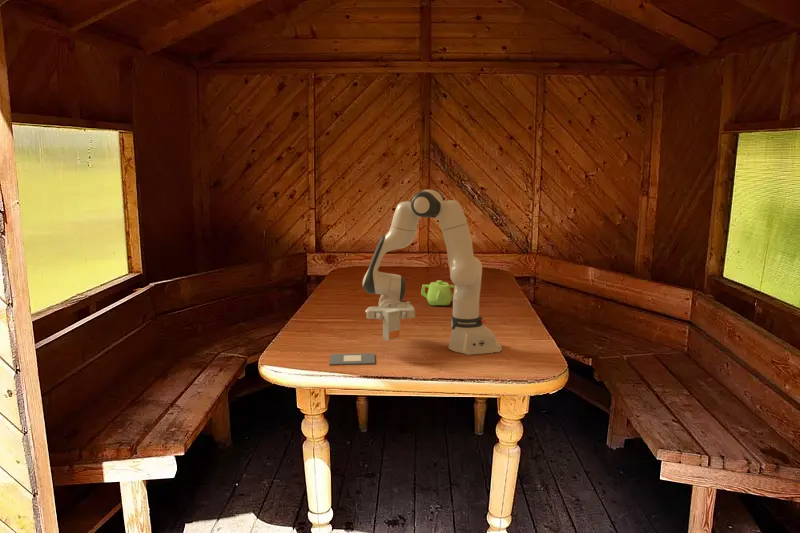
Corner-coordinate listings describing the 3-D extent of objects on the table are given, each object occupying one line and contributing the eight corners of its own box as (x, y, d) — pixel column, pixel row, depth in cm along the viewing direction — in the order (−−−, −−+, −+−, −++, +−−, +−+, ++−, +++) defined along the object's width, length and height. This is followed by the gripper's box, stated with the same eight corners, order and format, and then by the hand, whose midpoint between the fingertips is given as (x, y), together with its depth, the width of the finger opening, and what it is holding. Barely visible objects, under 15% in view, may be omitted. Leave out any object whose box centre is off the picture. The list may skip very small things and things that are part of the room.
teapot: (458, 309, 341) (459, 285, 338) (421, 308, 341) (421, 284, 339) (456, 300, 359) (456, 278, 356) (420, 300, 359) (420, 277, 357)
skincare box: (388, 341, 259) (387, 312, 256) (382, 338, 262) (382, 310, 260) (400, 338, 262) (400, 310, 260) (394, 336, 266) (394, 308, 263)
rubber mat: (374, 354, 266) (374, 352, 266) (375, 364, 254) (375, 362, 254) (330, 355, 265) (330, 353, 265) (329, 365, 253) (329, 363, 253)
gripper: (365, 302, 272) (365, 310, 258) (413, 301, 273) (416, 309, 260) (365, 316, 273) (365, 325, 259) (413, 315, 274) (416, 324, 261)
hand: (391, 317), depth 259 cm, fingers closed on skincare box, 7 cm apart
